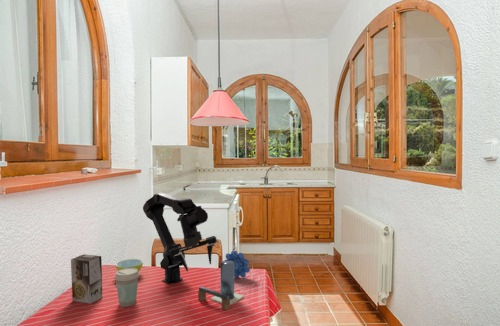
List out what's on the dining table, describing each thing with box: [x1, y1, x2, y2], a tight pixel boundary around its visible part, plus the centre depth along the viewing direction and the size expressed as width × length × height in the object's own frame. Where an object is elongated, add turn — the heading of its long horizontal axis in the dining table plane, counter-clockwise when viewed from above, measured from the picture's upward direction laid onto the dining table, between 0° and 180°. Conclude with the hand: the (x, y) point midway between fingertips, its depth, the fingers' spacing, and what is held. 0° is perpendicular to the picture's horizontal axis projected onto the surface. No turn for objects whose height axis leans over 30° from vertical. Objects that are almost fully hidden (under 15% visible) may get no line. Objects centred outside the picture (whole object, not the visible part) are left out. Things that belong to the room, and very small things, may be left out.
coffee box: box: [70, 254, 103, 304], centre depth 125 cm, size 9×6×16 cm
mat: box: [210, 292, 245, 306], centre depth 124 cm, size 9×9×1 cm
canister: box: [220, 260, 235, 299], centre depth 124 cm, size 5×5×13 cm
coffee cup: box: [114, 268, 140, 308], centre depth 121 cm, size 8×8×12 cm
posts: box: [197, 289, 231, 311], centre depth 120 cm, size 14×2×4 cm, turn 52°
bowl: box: [115, 258, 144, 273], centre depth 148 cm, size 11×12×6 cm
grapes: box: [224, 250, 251, 278], centre depth 144 cm, size 12×7×12 cm, turn 79°
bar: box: [198, 285, 229, 300], centre depth 120 cm, size 14×1×1 cm, turn 52°
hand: (199, 267), depth 129 cm, fingers open, 9 cm apart
